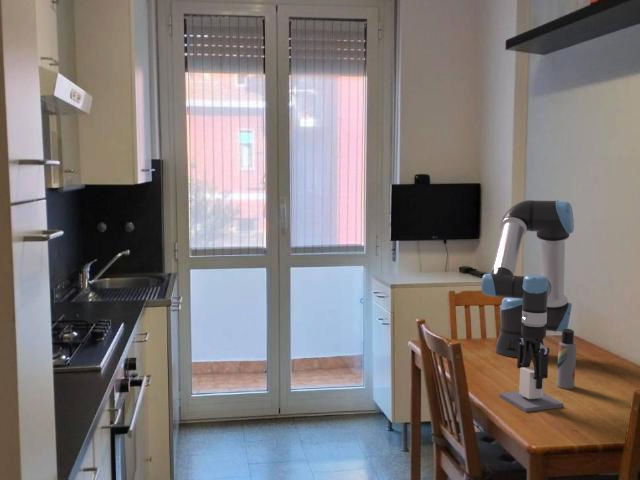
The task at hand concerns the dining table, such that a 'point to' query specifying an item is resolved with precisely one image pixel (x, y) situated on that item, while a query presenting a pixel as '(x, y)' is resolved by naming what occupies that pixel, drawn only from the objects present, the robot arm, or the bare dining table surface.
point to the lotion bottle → (566, 360)
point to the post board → (531, 401)
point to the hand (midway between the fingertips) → (530, 394)
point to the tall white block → (527, 382)
